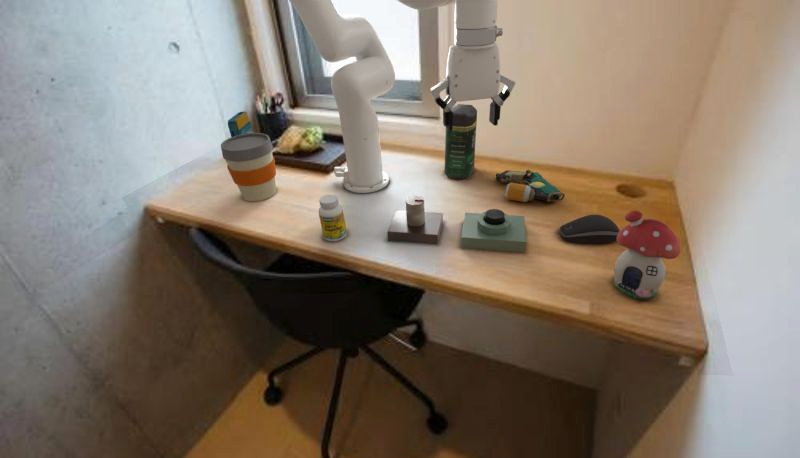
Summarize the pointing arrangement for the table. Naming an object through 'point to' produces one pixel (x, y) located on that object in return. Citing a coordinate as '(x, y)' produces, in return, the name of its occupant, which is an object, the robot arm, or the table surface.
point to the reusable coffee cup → (251, 165)
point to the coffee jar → (461, 142)
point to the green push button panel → (494, 233)
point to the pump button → (494, 217)
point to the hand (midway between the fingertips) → (471, 126)
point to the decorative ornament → (643, 256)
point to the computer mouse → (590, 230)
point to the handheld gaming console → (240, 124)
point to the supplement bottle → (332, 218)
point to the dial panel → (415, 228)
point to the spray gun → (528, 186)
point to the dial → (415, 211)
